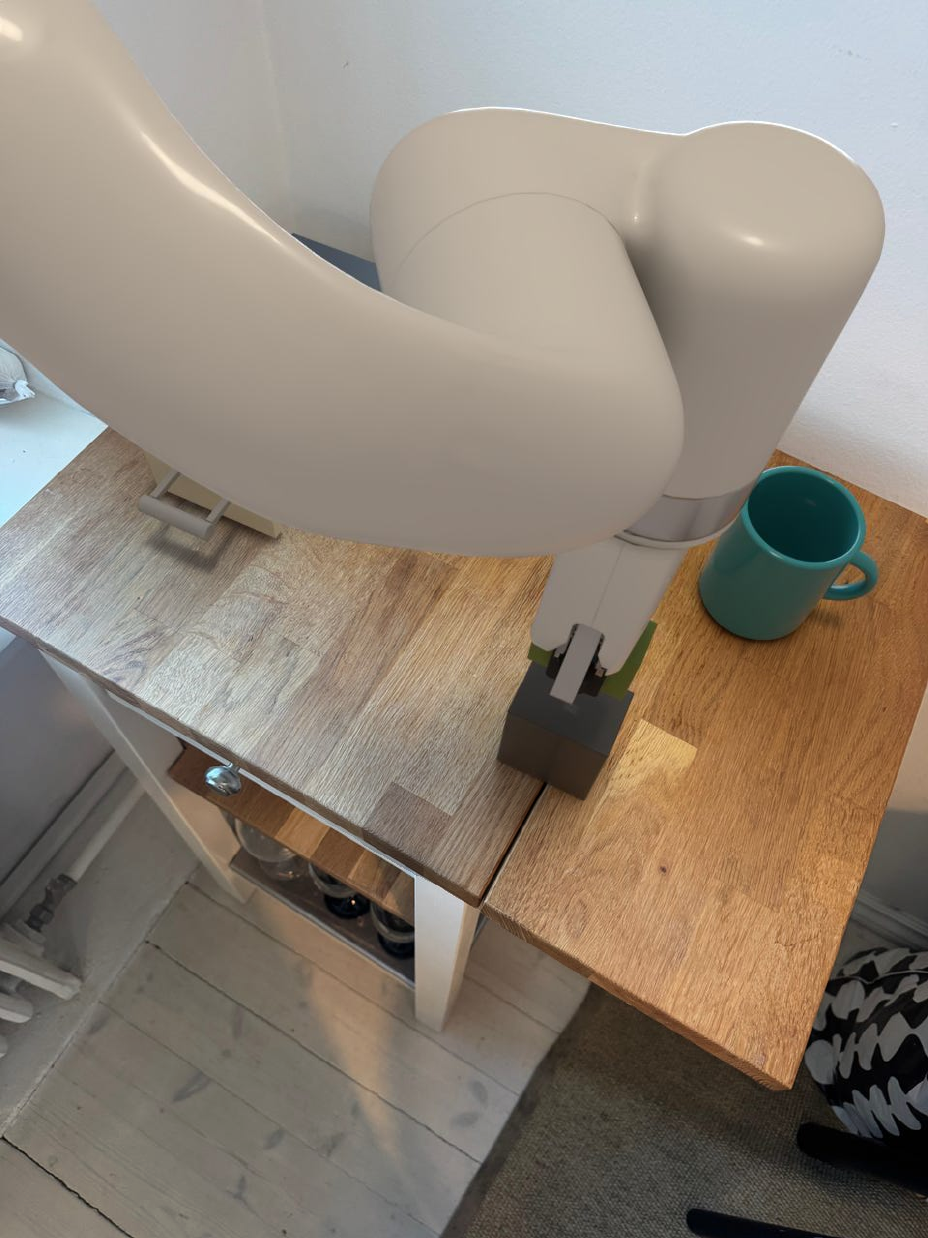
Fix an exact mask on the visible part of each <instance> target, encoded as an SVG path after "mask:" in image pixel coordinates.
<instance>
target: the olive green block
mask: <svg viewBox="0 0 928 1238" xmlns="http://www.w3.org/2000/svg"><path fill="white" fill-rule="evenodd" d="M658 624H659V623H658V622H656V621H654V620H652V619H650V621H649V623H648V625H647V626H646V628H645V630H644V631H643V633H642V635H641V636H640V638H639V640H638V642H637V643H636V645H635V647H634V648H633V650H632V652H631V653H630V655H629V657H628V658H627V660H626V662H625V663H624V665H623V666H622V668H621V669H620V671H618V672H616V673H614V674H611V675H607V676H606V678H605V680H604V683H603V685H602V687H601V689H600V691H601V692H604V693H606V694H608V695H610V696H613V697H615V698H617V699H619V700H623V698H624V696H625V694H626V692H627V690H629V689H630V687H631V685H632V683H633V681H634V679H635V678H636V675H637V673H638V672H639V670H640V669H641V665H642V663H643V661H644V659H645V656H646V654H647V651H648V649H649V646H650V645H651V642H652V639H653V637H654V634H655V632H656V630H657V628H658ZM572 639H573V638H572ZM571 641H572V640H571ZM552 652H553V650H550V651H546V650H544V649H542V648H540V647H538V646H536V645H535V644H533V642H532V640H531V642H530V646H529V649H528V653H527V655H526V656H527V657H526V659H527V660H529V661H531V662H532V661H534V662H536V663H538V664H541V665H543V666H545V667H548V664H549V661H550V658H551V655H552Z"/></svg>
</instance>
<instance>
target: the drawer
mask: <svg viewBox="0 0 928 1238" xmlns="http://www.w3.org/2000/svg"><path fill="white" fill-rule="evenodd" d="M142 452H143V455H144V457H145V459H146V461H147V464H148V466H149V469H150V471H151V474H152V476H153V479H154V481H155V484H156V487H155V488H154V490H153V491H152V492H151V493H150V494H143V495H142V496H140V498H139V499H138V502H137V506H136V507H137V510H138V512H140V513H142V514H144V515H146V516H149V517H151V518H153V519H155V520H158V521H160V522H162V523H164V524H166V525H169V526H171V527H173V528H176V529H178V530H180V531H182V532H185V533H187V534H189V535H192V536H193V537H196V538H198V539H201V540H203V541H206V542H208V541H210V540H211V539H212V537H213V536H214V534H215V530H216V526H215V525H216V524H217V523H218V521H219V520H220V519H221V517H222V516H224V517H225V518H228V519H230V520H233V521H235V522H237V523H239V524H241V525H244V526H246V527H248V528H251V529H253V530H256V531H258V532H260V533H262V534H264V535H267V536H269V537H271V538H274V539H277V538H278V536H279V534H281V532H282V530H283V529H284V525H283V524H280V523H277V522H274V521H271V520H268V519H266V518H264V517H262V516H259V515H257V514H255V513H253V512H251V511H249V510H246V509H244V508H242V507H240V506H238V505H236V504H234V503H231V502H230V501H228V500H226V499H224V498H223V497H221V496H219V495H218V494H216V493H214V492H212V491H211V490H209V489H207V488H206V487H204V486H202V485H200V484H199V483H197V482H195V481H194V480H192V479H190V478H188V477H187V476H185V475H183V474H182V473H180V472H178V471H177V470H175V469H174V468H172V467H170V466H169V465H167V464H166V463H164V462H162V461H161V460H159V459H158V458H156V457H155V456H153V455H151V454H150V453H148V452H147V451H145V450H144V449H142ZM167 492H169V493H171V494H173V495H175V496H177V497H180V498H181V499H185V500H187V501H189V502H192V503H193V504H196V505H198V506H200V507H203V508H205V509H207V510H209V511H210V513H209V514H208V516H207V517H206V518H205V519H203V518H201V517H199V516H196V515H193V514H192V513H189V512H187V511H185V510H183V509H180V508H178V507H176V506H173V505H171V504H169V503H167V502H164V501H162V500H161V499H162V498H163V497H164V495H165V494H166V493H167Z"/></svg>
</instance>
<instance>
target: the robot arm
mask: <svg viewBox="0 0 928 1238" xmlns="http://www.w3.org/2000/svg"><path fill="white" fill-rule="evenodd" d="M868 175H869V174H867V173H866V171H865V170H864V169H863V168H862V166H860V164H858V163H857V162H856V161H855V159H853V158H852V157H851V156H850V155H849V154H848V153H846V152H845V151H844V150H843V149H841V148H839V147H838V146H836V145H834V144H833V143H831V142H830V141H829V140H826V139H825V138H822V137H820V136H817V135H816V134H813V133H811V132H809V131H806V130H803V129H800V128H797V127H793V126H789V125H786V124H782V123H777V122H769V121H762V120H735V121H733V120H732V121H726V122H720V123H716V124H715V123H714V124H711V125H707V126H704V127H701V128H699V129H696V130H693V131H691V132H687V133H672V132H664V131H656V130H648V129H640V128H634V127H629V126H623V125H618V124H611V123H608V122H607V123H606V122H601V121H595V120H590V119H584V118H579V117H576V116H569V115H564V114H560V113H559V114H558V113H553V112H548V111H540V110H535V109H528V108H521V107H507V106H483V107H471V108H462V109H458V110H453V111H449V112H446V113H444V114H440V115H438V116H435V117H432V118H431V119H429V120H427V121H425V122H423V123H421V124H419V125H418V126H416V127H414V128H413V129H412V130H410V131H409V132H408V133H407V134H406V135H404V136H403V137H402V138H401V139H400V140H399V141H398V142H397V143H396V144H395V145H394V147H393V148H392V149H391V150H390V151H389V153H388V154H387V155H386V157H385V159H384V160H383V162H382V164H381V165H380V167H379V169H378V173H377V175H376V178H375V180H374V183H373V186H372V191H371V195H370V201H369V217H368V221H369V222H368V223H369V231H370V244H371V249H372V254H373V257H374V263H376V268H377V273H378V278H379V283H380V288H381V292H379V291H377V290H375V289H373V288H371V287H369V286H367V285H365V284H363V283H361V282H360V281H358V280H356V279H355V278H353V277H352V276H350V275H348V274H347V273H345V272H343V271H342V270H340V269H339V268H337V267H335V266H334V265H332V264H331V263H329V262H327V261H326V260H324V259H322V258H321V257H319V256H318V255H317V254H315V253H314V252H313V251H312V250H310V249H309V248H308V247H306V246H305V245H304V244H302V243H301V242H300V241H298V240H297V239H296V238H294V237H293V236H292V235H291V234H290V233H289V232H288V231H287V230H285V229H284V228H282V226H280V225H279V224H278V223H276V222H275V221H274V220H273V219H272V218H271V217H269V215H267V214H266V213H265V212H264V211H263V210H262V209H261V208H260V207H258V206H257V205H256V204H255V203H254V202H253V201H252V200H251V199H250V198H249V197H248V196H246V195H245V194H244V193H243V192H242V191H241V189H239V188H238V187H237V186H236V185H235V184H234V183H233V182H232V181H231V180H230V179H229V178H228V177H227V176H226V175H225V173H223V172H222V171H221V169H220V168H219V167H218V166H217V165H216V164H215V163H214V162H213V160H212V159H210V157H208V155H207V154H206V153H205V152H204V151H203V150H202V149H201V147H200V146H199V145H198V144H197V143H196V141H195V140H194V138H192V136H191V135H190V134H189V133H188V131H187V130H186V129H185V128H184V126H183V125H182V124H181V122H179V120H178V119H177V118H176V116H175V115H174V114H173V113H172V112H171V110H170V109H169V107H168V106H167V104H166V103H165V102H164V100H163V99H162V97H161V96H160V94H159V93H158V91H157V90H156V88H154V86H153V85H152V83H151V82H150V80H149V79H148V77H147V76H146V75H145V73H144V72H143V70H142V69H141V67H140V65H138V63H137V62H136V61H135V59H134V57H133V56H132V55H131V53H130V52H129V51H128V49H127V47H126V46H125V45H124V43H123V42H122V40H121V39H120V37H118V35H117V34H116V32H115V31H114V29H113V28H112V26H111V25H110V23H109V22H108V20H107V19H106V18H105V16H104V15H103V13H102V12H101V11H100V10H99V8H98V7H97V6H96V4H95V3H94V1H92V0H0V340H1V341H3V343H5V344H6V345H8V347H10V348H12V349H13V350H14V351H15V352H17V353H18V354H19V355H20V356H21V357H22V358H23V359H25V360H26V361H27V362H28V363H29V364H30V365H32V366H33V367H34V368H35V369H36V370H37V371H38V372H40V374H42V375H43V376H44V377H45V378H46V379H48V380H49V381H50V382H51V383H52V384H53V385H54V386H55V387H57V388H58V389H59V390H60V391H62V392H63V394H65V395H67V396H68V397H69V398H70V399H71V400H72V401H73V402H75V403H76V404H78V405H79V406H80V407H81V408H83V409H84V410H86V411H87V412H88V413H89V414H91V415H92V416H94V417H95V418H96V419H98V420H99V421H100V422H102V423H104V425H106V426H107V427H109V428H110V429H112V430H113V431H115V432H116V433H118V434H119V435H120V436H122V437H123V438H125V439H127V440H128V441H129V442H131V443H133V444H134V445H136V446H138V447H139V448H140V449H142V450H143V449H144V450H145V451H147V452H148V453H150V454H151V455H153V456H155V457H156V458H158V459H159V460H161V461H162V462H164V463H166V464H167V465H169V466H170V467H172V468H174V469H175V470H177V471H178V472H180V473H182V474H183V475H185V476H187V477H188V478H190V479H192V480H194V481H195V482H197V483H199V484H200V485H202V486H204V487H206V488H207V489H209V490H211V491H212V492H214V493H216V494H218V495H219V496H221V497H223V498H224V499H226V500H228V501H230V502H231V503H234V504H236V505H238V506H240V507H242V508H244V509H246V510H249V511H251V512H253V513H255V514H257V515H259V516H262V517H264V518H266V519H268V520H271V521H274V522H277V523H280V524H282V525H283V526H285V527H288V528H292V529H295V530H298V531H301V532H304V533H308V534H312V535H317V536H321V537H324V538H329V539H333V540H339V541H345V542H350V543H351V542H352V543H357V544H358V543H359V544H366V545H372V546H380V547H388V548H396V549H403V550H410V551H411V550H412V551H418V552H426V553H435V554H444V555H451V556H459V557H468V558H487V559H488V558H490V559H491V558H492V559H524V558H525V559H528V558H540V557H549V556H550V557H551V556H554V555H555V556H554V559H553V562H552V565H551V568H550V571H549V574H548V576H547V579H546V582H545V586H544V588H543V592H542V595H541V598H540V601H539V604H538V606H537V609H536V613H535V616H534V618H533V621H532V624H531V627H530V630H529V636H530V637H529V638H530V640H531V641H532V642H533V644H535V645H536V646H538V647H540V648H542V649H544V650H546V651H550V650H553V652H552V655H551V658H550V661H549V664H548V667H547V670H546V675H547V676H548V677H549V678H551V679H553V680H555V682H554V685H553V687H552V690H551V692H550V695H551V696H553V697H555V698H557V699H560V700H562V701H564V702H566V703H569V704H571V705H572V704H573V702H574V700H575V697H576V695H577V694H582V693H585V694H587V695H589V696H592V697H596V696H597V695H598V693H599V691H600V689H601V687H602V685H603V683H604V680H605V678H606V676H607V675H611V674H614V673H616V672H618V671H620V669H621V668H622V666H623V665H624V663H625V662H626V660H627V658H628V657H629V655H630V653H631V652H632V650H633V648H634V647H635V645H636V643H637V642H638V640H639V638H640V636H641V635H642V633H643V631H644V630H645V628H646V626H647V625H648V623H649V621H650V620H652V617H653V615H654V614H655V612H656V610H657V608H658V607H659V605H660V603H661V602H662V600H663V598H664V597H665V594H666V593H667V590H668V589H669V587H670V585H671V583H672V581H673V580H674V578H675V575H676V574H677V572H678V570H679V568H680V566H681V564H682V563H683V561H684V559H685V556H686V555H687V553H688V551H689V549H690V548H694V547H697V546H701V545H705V544H707V543H709V542H710V541H712V540H715V539H718V537H719V536H720V535H721V534H722V533H724V532H725V531H726V530H727V529H728V528H729V527H730V526H731V525H732V524H733V523H734V522H735V520H736V518H737V517H738V515H739V514H740V512H741V510H742V508H743V507H744V505H745V503H746V501H747V499H748V498H749V496H750V494H751V492H752V491H753V489H754V487H755V485H756V483H757V482H758V480H759V478H760V476H761V475H762V473H763V471H765V470H766V468H767V466H768V463H769V462H770V460H771V458H772V456H773V455H774V454H775V451H776V450H777V448H778V446H779V444H780V442H781V440H783V437H784V435H785V433H786V432H787V430H788V428H789V426H790V424H791V423H792V421H793V419H794V417H795V416H796V414H797V412H798V411H799V409H800V407H801V405H802V404H803V401H804V400H805V398H806V396H807V394H808V392H809V391H810V389H811V388H812V386H813V384H814V382H815V380H816V378H817V377H818V374H819V373H820V371H821V369H822V368H823V366H824V365H825V363H826V361H827V359H828V357H829V355H830V353H831V352H832V349H833V348H834V346H835V344H836V343H837V341H838V339H839V337H840V335H841V334H842V332H843V330H844V329H845V327H846V325H847V323H848V321H849V319H850V317H851V316H852V314H853V312H854V310H855V308H856V307H857V305H858V304H859V301H860V300H861V298H862V296H863V295H864V293H865V290H866V288H867V286H868V284H869V282H870V280H871V278H872V276H873V274H874V272H875V270H876V267H877V266H878V264H879V261H880V259H881V256H882V253H883V248H884V242H885V238H886V237H885V236H886V218H885V210H884V207H883V202H882V198H881V196H880V194H879V191H878V189H877V187H876V185H875V184H874V182H873V181H872V180H871V178H870V176H868ZM572 638H573V639H572ZM571 640H572V641H571Z"/></svg>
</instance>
